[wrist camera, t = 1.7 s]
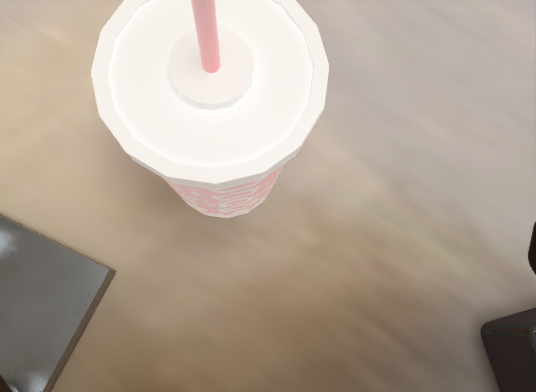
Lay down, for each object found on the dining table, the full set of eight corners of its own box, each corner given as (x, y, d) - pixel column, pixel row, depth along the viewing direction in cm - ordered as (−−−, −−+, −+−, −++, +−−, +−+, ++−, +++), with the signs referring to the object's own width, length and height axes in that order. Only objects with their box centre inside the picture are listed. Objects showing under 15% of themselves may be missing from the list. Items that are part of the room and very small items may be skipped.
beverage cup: (154, 239, 20) (-28, 102, 7) (153, 104, 22) (1, -241, 8) (298, 232, 21) (406, 89, 7) (289, 99, 22) (365, -236, 8)
